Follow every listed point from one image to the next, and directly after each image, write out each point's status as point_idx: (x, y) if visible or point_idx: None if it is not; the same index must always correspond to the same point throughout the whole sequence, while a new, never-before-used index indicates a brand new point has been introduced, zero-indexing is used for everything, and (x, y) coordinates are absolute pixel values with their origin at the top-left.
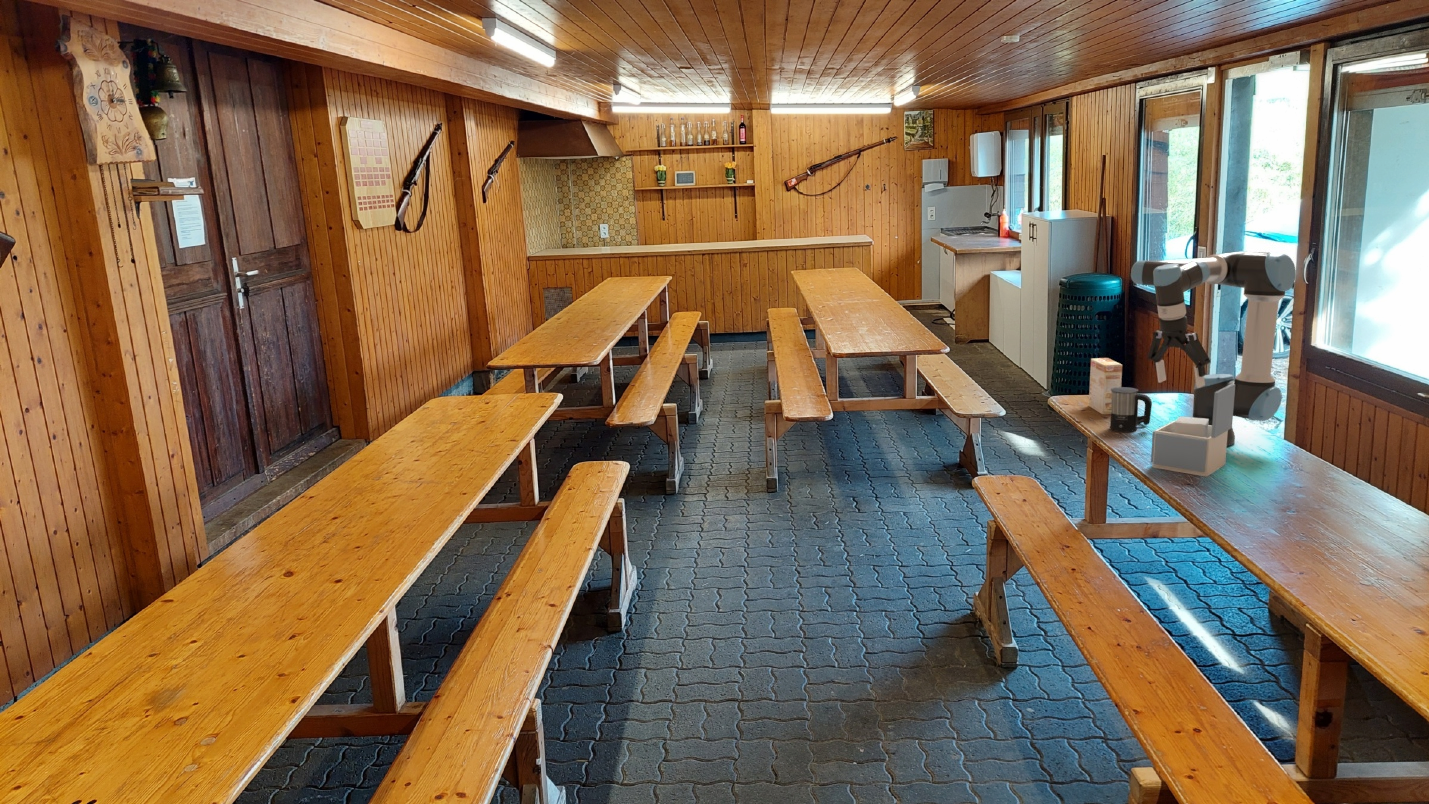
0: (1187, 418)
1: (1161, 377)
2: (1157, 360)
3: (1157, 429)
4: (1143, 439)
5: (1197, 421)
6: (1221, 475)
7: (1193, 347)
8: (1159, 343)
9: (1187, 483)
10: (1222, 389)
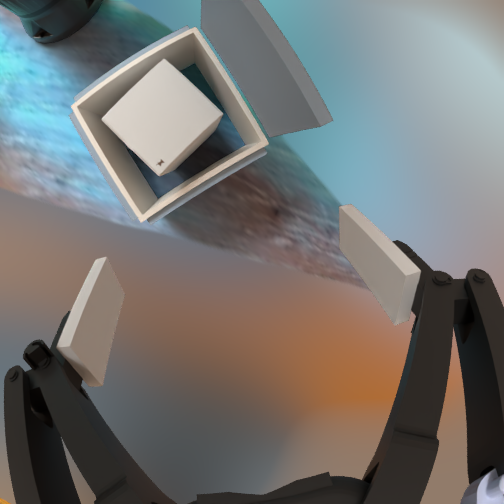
0: (135, 113)
1: (114, 300)
2: (77, 382)
3: (131, 208)
4: (4, 113)
5: (180, 110)
6: (255, 115)
7: (476, 432)
8: (38, 478)
9: (271, 210)
10: (285, 51)
